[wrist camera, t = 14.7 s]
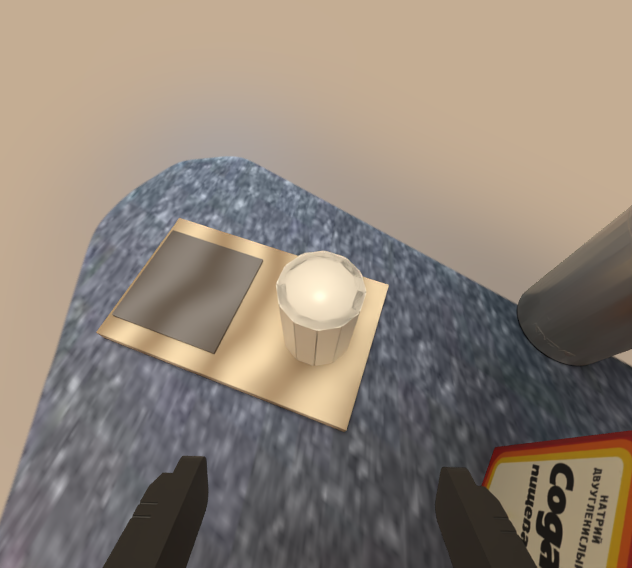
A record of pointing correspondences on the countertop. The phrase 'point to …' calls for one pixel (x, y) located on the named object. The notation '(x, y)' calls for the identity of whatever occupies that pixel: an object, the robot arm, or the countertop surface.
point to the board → (236, 323)
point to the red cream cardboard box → (568, 498)
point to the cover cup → (319, 306)
